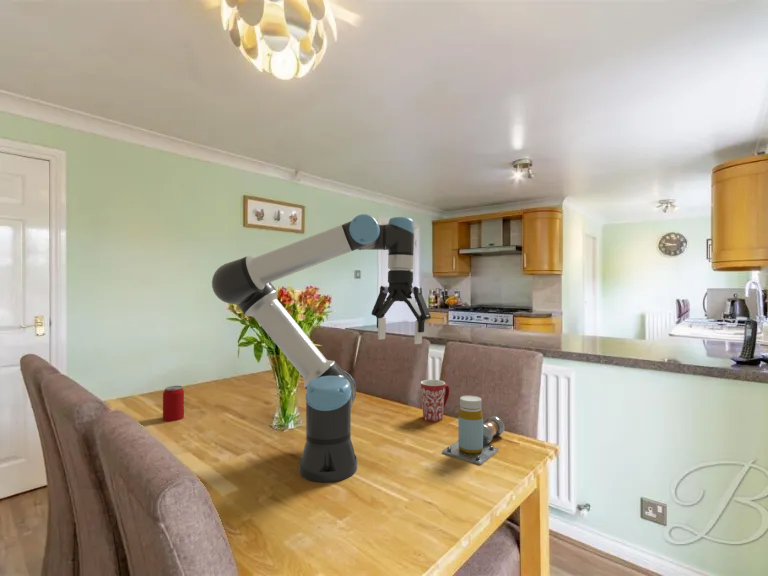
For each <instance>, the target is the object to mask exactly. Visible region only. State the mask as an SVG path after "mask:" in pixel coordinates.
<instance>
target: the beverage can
mask: <svg viewBox="0 0 768 576" xmlns="http://www.w3.org/2000/svg"><path fill="white" fill-rule="evenodd" d="M184 417H185V391H184V389H183V387H182V385H173V386H172V385H169V386H166V387H165V388H164V391H163V393H162V421H163V422H166V423H167V422H176V421H180V420H182V419H184Z"/></svg>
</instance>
